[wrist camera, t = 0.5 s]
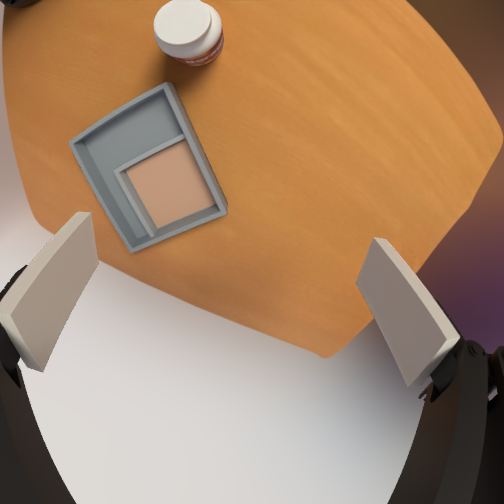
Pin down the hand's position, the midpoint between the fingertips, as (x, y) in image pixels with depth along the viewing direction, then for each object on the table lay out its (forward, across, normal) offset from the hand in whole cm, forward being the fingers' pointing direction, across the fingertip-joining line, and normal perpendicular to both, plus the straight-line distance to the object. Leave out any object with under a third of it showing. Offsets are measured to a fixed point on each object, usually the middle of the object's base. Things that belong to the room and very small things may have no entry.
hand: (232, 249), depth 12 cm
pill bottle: (+24, -6, +13) cm, 28 cm away
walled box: (+24, -10, -3) cm, 26 cm away
